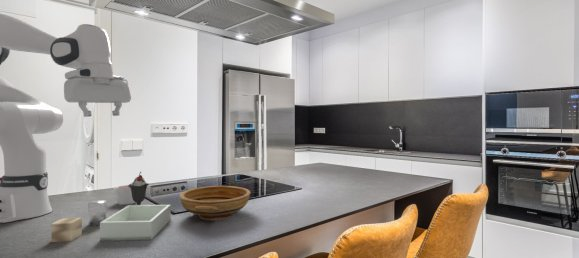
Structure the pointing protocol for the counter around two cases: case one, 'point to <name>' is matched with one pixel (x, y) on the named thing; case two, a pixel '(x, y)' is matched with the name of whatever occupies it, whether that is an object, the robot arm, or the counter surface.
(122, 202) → the candle
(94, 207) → the aluminium cylinder
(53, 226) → the maple cube
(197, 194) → the wooden bowl
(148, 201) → the counter surface
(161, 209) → the tote
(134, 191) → the sundae
